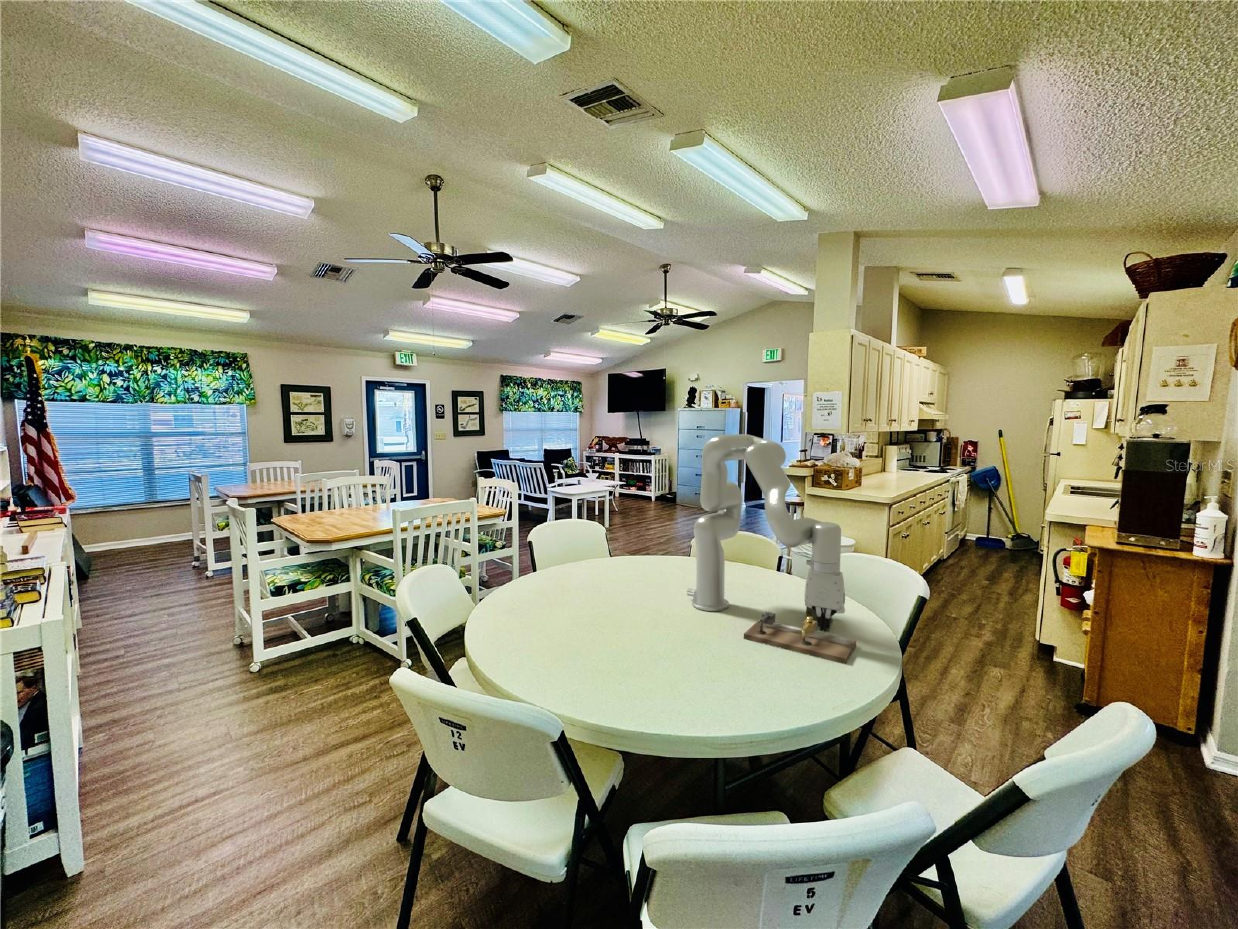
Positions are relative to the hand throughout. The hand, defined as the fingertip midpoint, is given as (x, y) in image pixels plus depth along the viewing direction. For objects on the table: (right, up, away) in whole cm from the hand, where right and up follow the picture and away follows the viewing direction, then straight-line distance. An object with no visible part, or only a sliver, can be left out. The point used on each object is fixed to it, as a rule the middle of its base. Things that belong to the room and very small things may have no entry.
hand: (824, 629), depth 146 cm
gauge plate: (-7, -4, +1) cm, 8 cm away
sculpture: (+4, -3, +15) cm, 16 cm away
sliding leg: (-5, -2, 0) cm, 5 cm away
